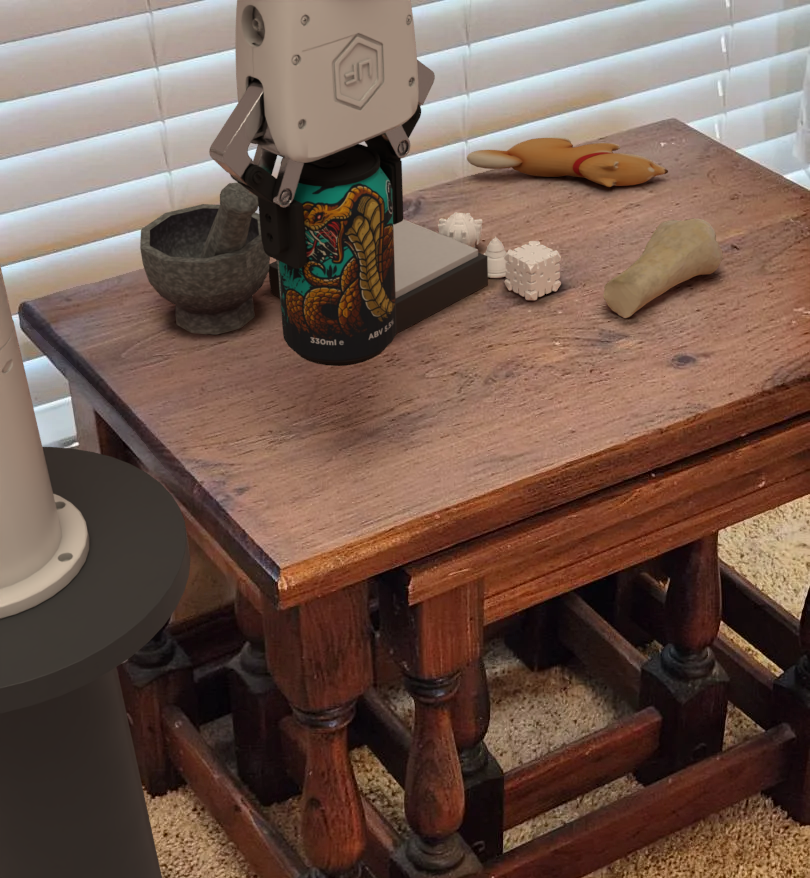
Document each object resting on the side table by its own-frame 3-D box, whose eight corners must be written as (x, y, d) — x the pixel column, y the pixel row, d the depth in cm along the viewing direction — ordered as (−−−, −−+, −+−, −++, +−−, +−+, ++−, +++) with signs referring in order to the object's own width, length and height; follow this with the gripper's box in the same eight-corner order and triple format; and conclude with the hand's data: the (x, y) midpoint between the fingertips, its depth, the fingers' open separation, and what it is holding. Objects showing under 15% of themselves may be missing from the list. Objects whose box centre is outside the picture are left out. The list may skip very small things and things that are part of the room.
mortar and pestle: (128, 315, 119) (102, 168, 112) (224, 272, 124) (206, 129, 117) (216, 367, 113) (195, 214, 105) (315, 319, 118) (301, 171, 110)
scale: (371, 347, 114) (368, 310, 112) (265, 296, 121) (261, 260, 119) (488, 285, 121) (487, 248, 119) (381, 239, 128) (379, 204, 126)
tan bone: (659, 249, 124) (663, 193, 121) (734, 265, 121) (740, 208, 118) (600, 312, 116) (603, 254, 113) (679, 331, 114) (684, 272, 111)
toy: (661, 176, 137) (668, 197, 132) (465, 168, 137) (465, 189, 132) (666, 139, 135) (672, 159, 131) (467, 131, 135) (467, 151, 131)
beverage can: (345, 383, 93) (334, 196, 85) (260, 347, 96) (244, 165, 89) (419, 337, 97) (415, 154, 90) (336, 304, 101) (326, 127, 93)
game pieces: (562, 290, 119) (562, 252, 117) (529, 304, 118) (529, 266, 116) (463, 238, 127) (462, 201, 125) (431, 250, 126) (430, 214, 124)
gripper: (233, -17, 75) (264, 311, 85) (481, -94, 84) (480, 209, 95) (140, -47, 79) (180, 268, 90) (385, -117, 89) (395, 175, 99)
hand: (334, 236), depth 92 cm, fingers closed on beverage can, 7 cm apart
